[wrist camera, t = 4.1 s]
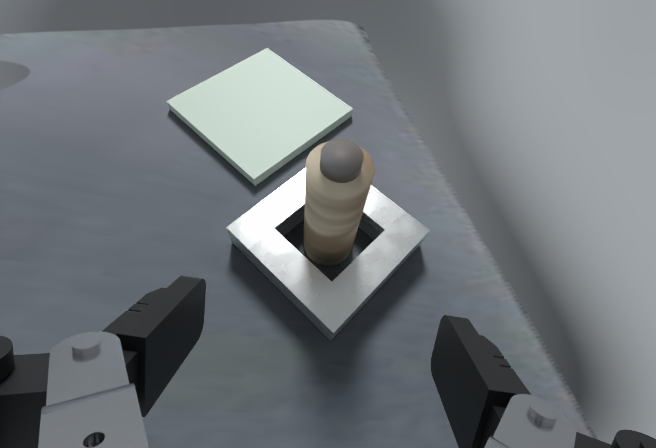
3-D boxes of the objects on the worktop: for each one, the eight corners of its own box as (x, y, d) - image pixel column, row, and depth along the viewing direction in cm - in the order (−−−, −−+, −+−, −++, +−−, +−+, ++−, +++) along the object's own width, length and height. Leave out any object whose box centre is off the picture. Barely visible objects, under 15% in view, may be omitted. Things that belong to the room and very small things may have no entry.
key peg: (328, 276, 28) (344, 196, 18) (293, 243, 29) (290, 153, 19) (361, 244, 29) (392, 156, 20) (327, 214, 30) (340, 118, 21)
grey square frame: (330, 341, 25) (333, 333, 23) (231, 242, 28) (226, 227, 26) (420, 244, 30) (429, 230, 27) (325, 169, 33) (328, 151, 31)
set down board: (255, 186, 31) (253, 179, 30) (169, 109, 35) (166, 101, 34) (351, 116, 37) (353, 108, 36) (267, 56, 40) (267, 48, 40)
